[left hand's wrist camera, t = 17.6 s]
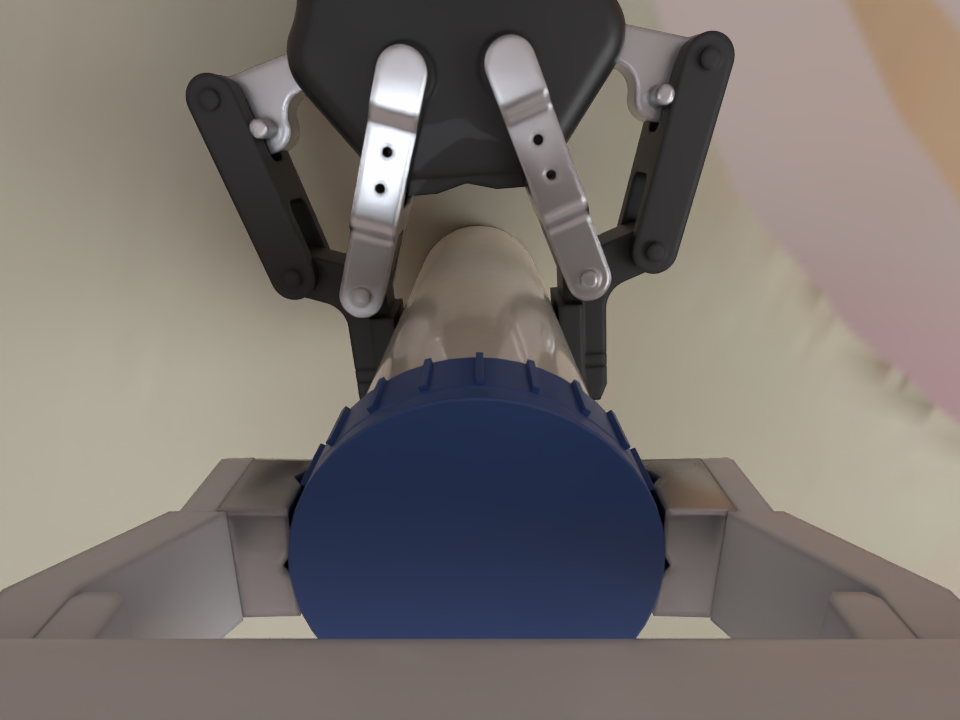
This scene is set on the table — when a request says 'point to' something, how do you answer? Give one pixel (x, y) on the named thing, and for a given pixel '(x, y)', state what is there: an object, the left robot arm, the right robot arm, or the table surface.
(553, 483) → the lid
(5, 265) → the table surface
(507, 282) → the jar
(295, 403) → the table surface
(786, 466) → the table surface
